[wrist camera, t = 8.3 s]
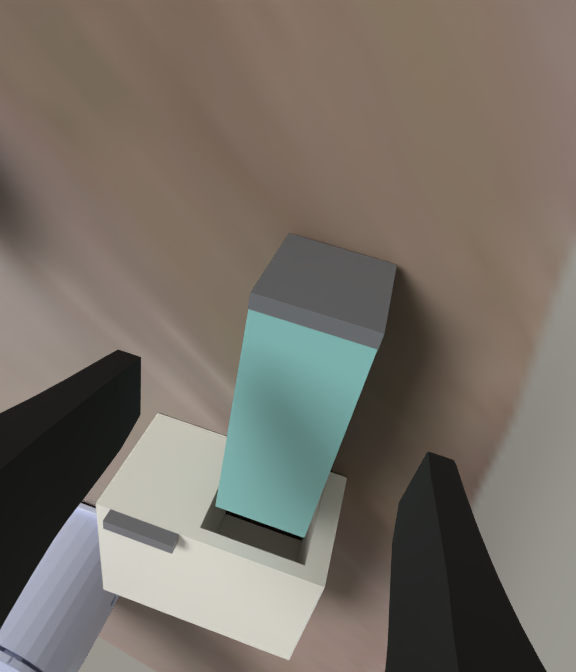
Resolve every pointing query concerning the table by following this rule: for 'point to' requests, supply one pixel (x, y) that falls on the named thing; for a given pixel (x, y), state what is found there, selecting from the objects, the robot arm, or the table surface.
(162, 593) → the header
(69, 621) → the robot arm
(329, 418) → the plug
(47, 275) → the table surface
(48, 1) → the table surface
